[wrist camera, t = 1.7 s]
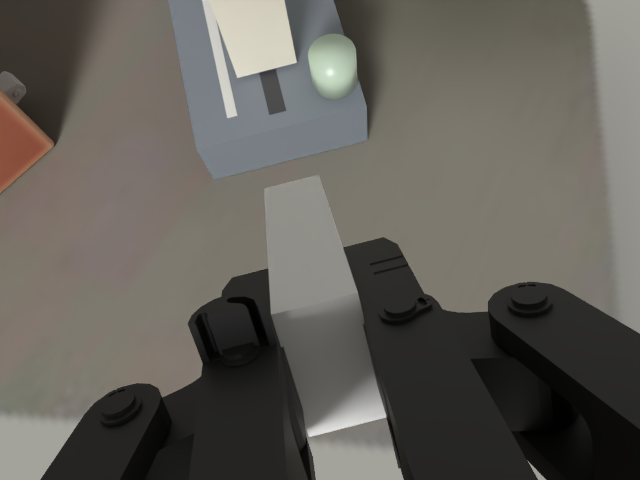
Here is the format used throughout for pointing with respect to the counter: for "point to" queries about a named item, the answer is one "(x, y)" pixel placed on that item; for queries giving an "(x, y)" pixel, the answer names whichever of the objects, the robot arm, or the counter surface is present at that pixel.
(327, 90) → the push button
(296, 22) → the switch console
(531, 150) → the counter surface
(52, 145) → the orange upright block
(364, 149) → the counter surface
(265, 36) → the cream rectangular block
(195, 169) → the counter surface
